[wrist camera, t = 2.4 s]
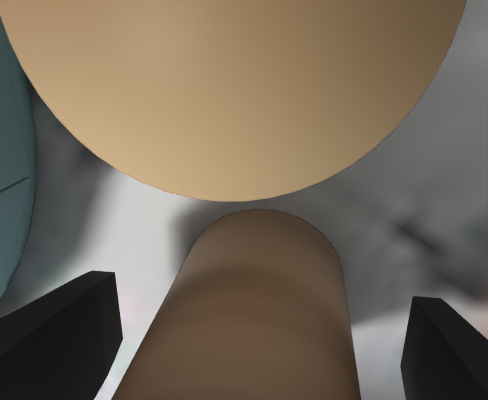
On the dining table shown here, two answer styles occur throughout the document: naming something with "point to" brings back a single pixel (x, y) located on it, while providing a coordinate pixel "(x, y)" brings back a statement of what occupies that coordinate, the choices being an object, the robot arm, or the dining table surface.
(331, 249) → the brown wooden peg
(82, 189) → the dining table surface
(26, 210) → the ring tray
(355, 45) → the oak bead
